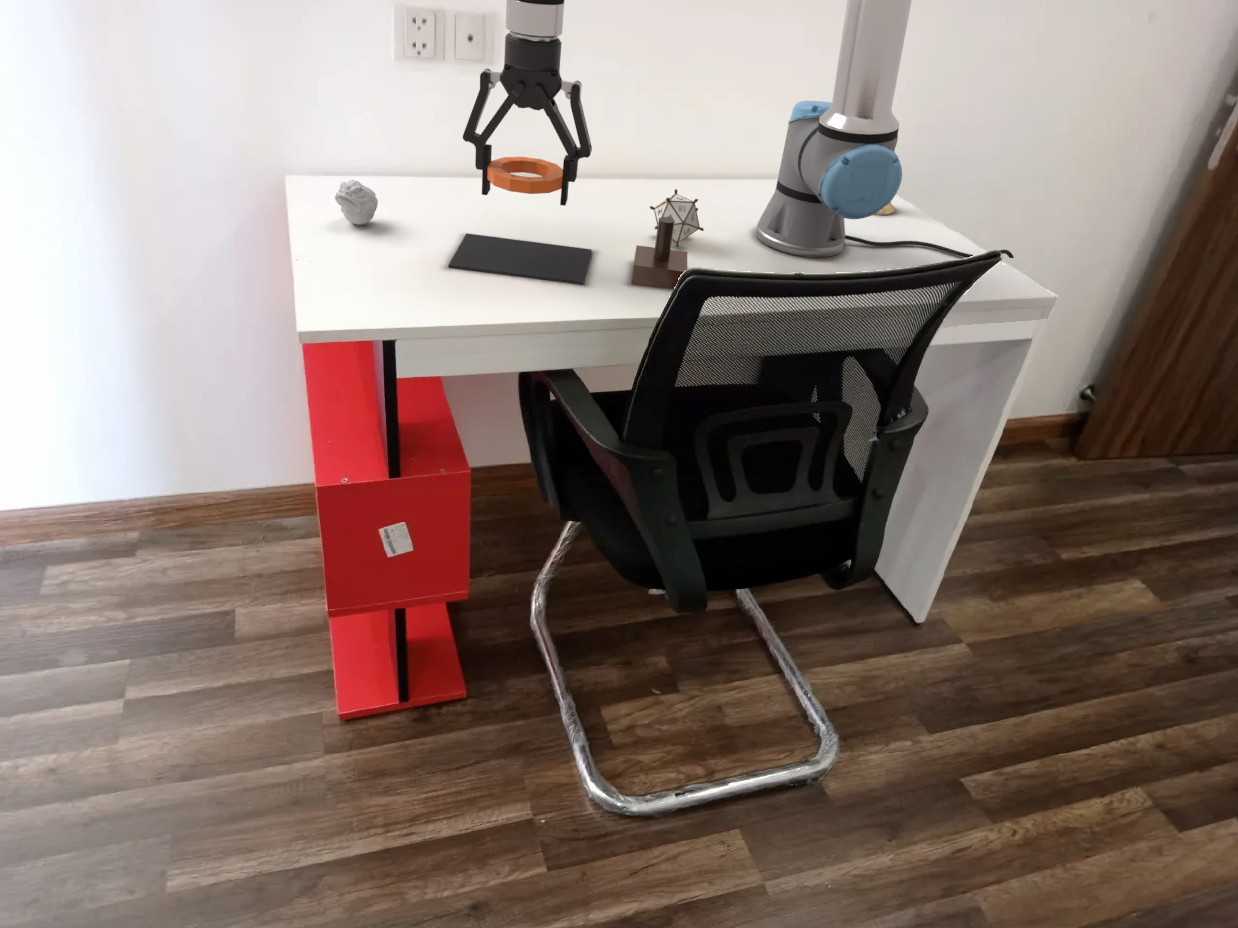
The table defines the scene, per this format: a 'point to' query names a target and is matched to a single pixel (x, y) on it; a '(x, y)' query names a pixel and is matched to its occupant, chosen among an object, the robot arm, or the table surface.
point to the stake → (659, 259)
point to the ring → (530, 185)
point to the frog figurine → (356, 202)
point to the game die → (679, 216)
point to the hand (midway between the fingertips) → (524, 197)
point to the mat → (522, 258)
